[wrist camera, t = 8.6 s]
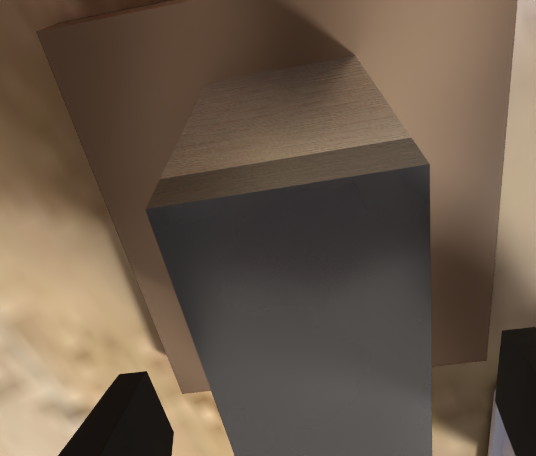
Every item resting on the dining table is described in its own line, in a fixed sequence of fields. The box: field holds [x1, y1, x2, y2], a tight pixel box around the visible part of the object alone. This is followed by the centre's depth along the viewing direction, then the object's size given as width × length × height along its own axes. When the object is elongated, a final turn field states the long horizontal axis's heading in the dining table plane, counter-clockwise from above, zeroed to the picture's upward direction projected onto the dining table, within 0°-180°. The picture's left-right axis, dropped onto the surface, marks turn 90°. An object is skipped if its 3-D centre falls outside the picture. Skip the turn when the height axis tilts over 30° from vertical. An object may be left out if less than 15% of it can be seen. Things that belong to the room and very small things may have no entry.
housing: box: [145, 55, 432, 456], centre depth 12 cm, size 4×10×7 cm, turn 10°
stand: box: [37, 0, 517, 394], centre depth 16 cm, size 12×14×2 cm
